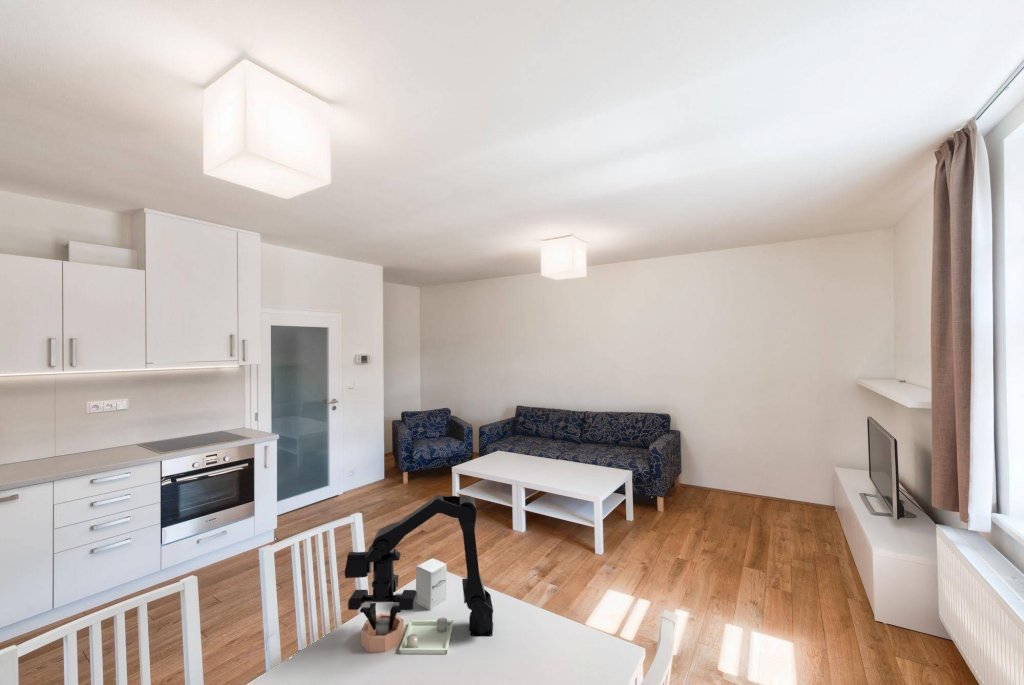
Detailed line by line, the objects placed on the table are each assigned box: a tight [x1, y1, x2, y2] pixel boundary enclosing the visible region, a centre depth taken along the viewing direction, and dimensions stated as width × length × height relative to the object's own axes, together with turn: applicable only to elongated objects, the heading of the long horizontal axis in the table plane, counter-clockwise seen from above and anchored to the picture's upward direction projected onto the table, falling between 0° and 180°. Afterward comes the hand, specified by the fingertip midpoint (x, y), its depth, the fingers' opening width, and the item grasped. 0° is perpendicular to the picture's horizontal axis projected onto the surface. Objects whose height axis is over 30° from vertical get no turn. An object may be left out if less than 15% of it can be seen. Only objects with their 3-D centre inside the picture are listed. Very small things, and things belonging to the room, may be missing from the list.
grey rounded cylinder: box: [376, 618, 390, 636], centre depth 124 cm, size 4×4×4 cm
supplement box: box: [415, 557, 448, 611], centre depth 142 cm, size 7×7×13 cm
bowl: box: [360, 613, 405, 653], centre depth 124 cm, size 11×11×4 cm
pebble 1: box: [407, 634, 418, 648], centre depth 120 cm, size 3×3×3 cm
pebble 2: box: [436, 617, 448, 633], centre depth 128 cm, size 3×3×3 cm
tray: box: [398, 619, 454, 655], centre depth 124 cm, size 13×13×2 cm
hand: (382, 629), depth 124 cm, fingers open, 4 cm apart
